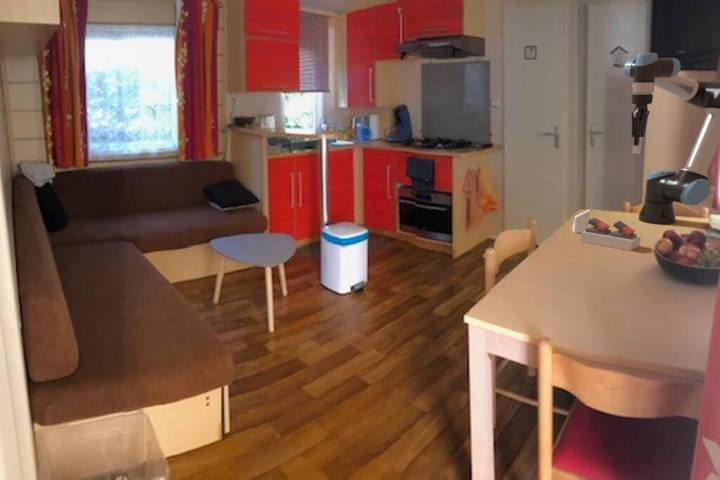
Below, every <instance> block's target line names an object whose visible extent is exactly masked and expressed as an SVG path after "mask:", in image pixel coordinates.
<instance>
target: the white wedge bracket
mask: <svg viewBox="0 0 720 480" xmlns="http://www.w3.org/2000/svg"><path fill="white" fill-rule="evenodd" d="M590 217H591V209H587V210H585V211H583V212H581V213H579V214H577V215H575V216H574V219H573V220H574V221H573V223H572V232H573V233H576V234H577V233H579V234H581V232H583V231H585V230H586V229H588V228H590V227H589V226H590V224H589V223H588V222H589V220H590Z"/></svg>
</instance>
